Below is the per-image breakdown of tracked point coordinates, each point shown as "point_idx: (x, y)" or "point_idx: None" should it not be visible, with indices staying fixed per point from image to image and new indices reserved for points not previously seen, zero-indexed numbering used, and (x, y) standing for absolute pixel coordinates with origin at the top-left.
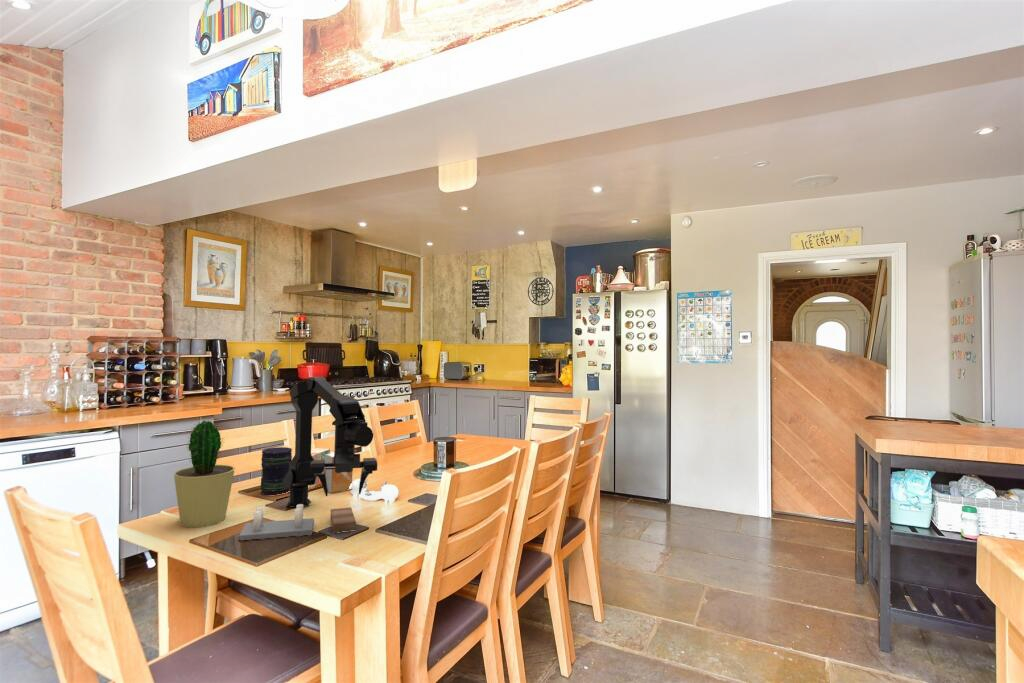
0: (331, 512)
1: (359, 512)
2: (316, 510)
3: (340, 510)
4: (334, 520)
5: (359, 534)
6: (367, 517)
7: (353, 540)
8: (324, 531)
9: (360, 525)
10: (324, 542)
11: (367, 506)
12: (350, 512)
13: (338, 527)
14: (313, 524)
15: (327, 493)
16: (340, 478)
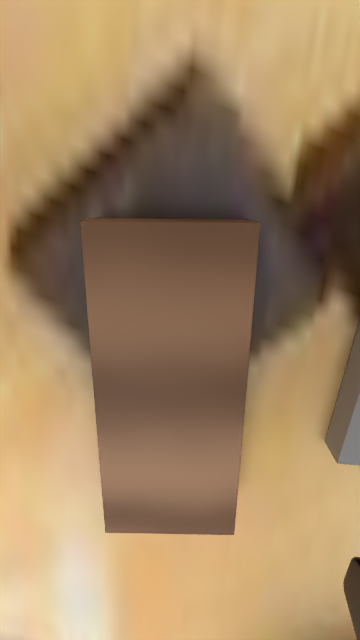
0: (236, 482)
1: (68, 521)
2: (278, 602)
3: (176, 500)
4: (240, 317)
5: (74, 136)
6: (23, 437)
7: (122, 4)
8: (293, 284)
9: (65, 317)
10: (334, 46)
11: (26, 585)
12: (113, 445)
13: (217, 221)
14: (346, 395)
15: (355, 604)
16: None
